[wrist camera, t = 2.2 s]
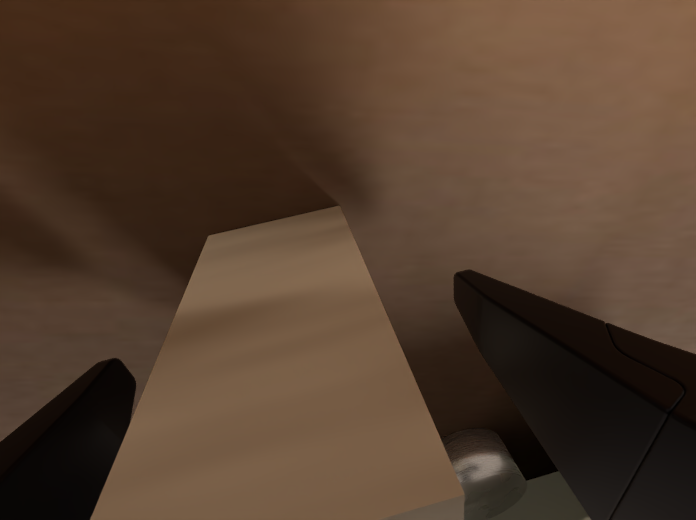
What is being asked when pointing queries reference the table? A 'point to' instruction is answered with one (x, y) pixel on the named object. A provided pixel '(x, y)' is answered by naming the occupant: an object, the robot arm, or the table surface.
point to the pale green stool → (546, 501)
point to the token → (484, 472)
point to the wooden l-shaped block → (282, 394)
